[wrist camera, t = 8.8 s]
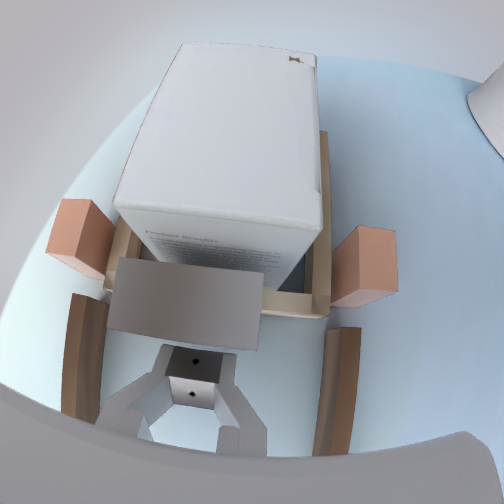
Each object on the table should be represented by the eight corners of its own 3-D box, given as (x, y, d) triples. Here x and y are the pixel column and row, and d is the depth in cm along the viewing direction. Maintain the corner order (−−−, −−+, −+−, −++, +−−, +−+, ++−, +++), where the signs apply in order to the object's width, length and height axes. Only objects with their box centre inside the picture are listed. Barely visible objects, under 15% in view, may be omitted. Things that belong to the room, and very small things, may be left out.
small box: (201, 172, 19) (181, 39, 9) (283, 181, 19) (318, 50, 9) (178, 288, 17) (103, 204, 7) (273, 300, 17) (326, 229, 7)
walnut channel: (341, 331, 16) (361, 327, 13) (312, 526, 12) (324, 549, 9) (96, 302, 16) (72, 292, 13) (89, 494, 11) (69, 510, 9)
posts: (357, 260, 18) (394, 230, 13) (357, 307, 17) (398, 291, 12) (98, 233, 17) (62, 198, 13) (87, 277, 16) (45, 252, 12)
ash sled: (320, 149, 20) (357, 50, 11) (317, 353, 15) (399, 354, 7) (159, 135, 20) (131, 36, 11) (111, 327, 15) (10, 301, 7)
